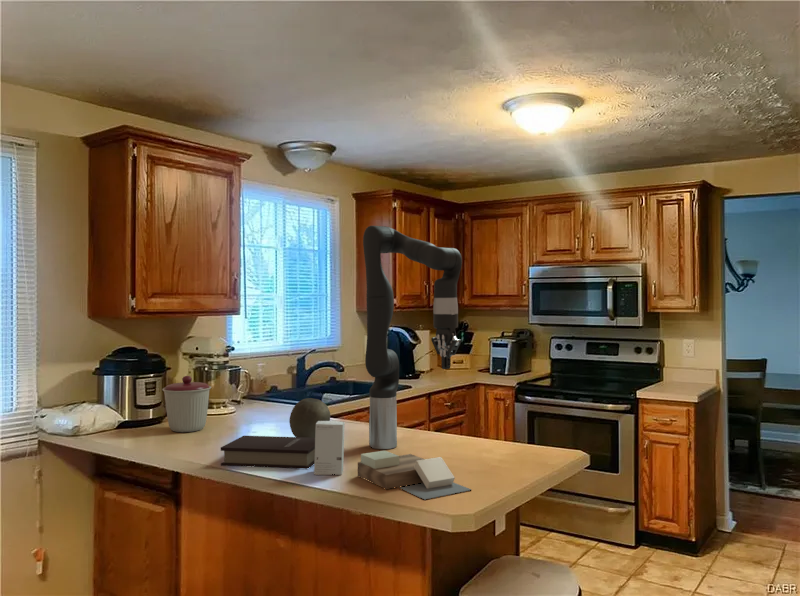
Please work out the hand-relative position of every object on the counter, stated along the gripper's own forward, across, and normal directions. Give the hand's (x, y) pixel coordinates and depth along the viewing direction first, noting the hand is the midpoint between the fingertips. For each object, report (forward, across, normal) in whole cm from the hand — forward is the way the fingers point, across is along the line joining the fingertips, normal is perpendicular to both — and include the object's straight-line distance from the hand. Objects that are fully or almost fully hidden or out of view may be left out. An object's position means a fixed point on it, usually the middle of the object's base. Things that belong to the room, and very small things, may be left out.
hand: (446, 368), depth 204 cm
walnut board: (+29, +6, -21) cm, 36 cm away
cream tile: (+27, +17, -17) cm, 36 cm away
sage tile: (+25, +3, -26) cm, 36 cm away
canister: (+29, -97, -54) cm, 115 cm away
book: (+30, -34, -42) cm, 62 cm away
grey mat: (+29, +21, -19) cm, 41 cm away
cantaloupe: (+29, -53, -22) cm, 64 cm away
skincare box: (+29, -10, -35) cm, 47 cm away
